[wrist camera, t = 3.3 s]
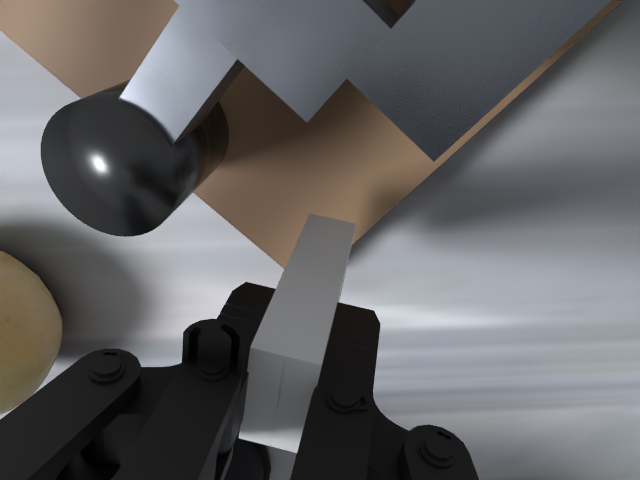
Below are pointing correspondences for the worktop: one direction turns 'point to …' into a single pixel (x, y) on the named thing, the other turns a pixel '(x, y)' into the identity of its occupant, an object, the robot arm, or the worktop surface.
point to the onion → (25, 332)
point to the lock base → (253, 122)
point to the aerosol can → (248, 461)
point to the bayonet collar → (289, 87)
